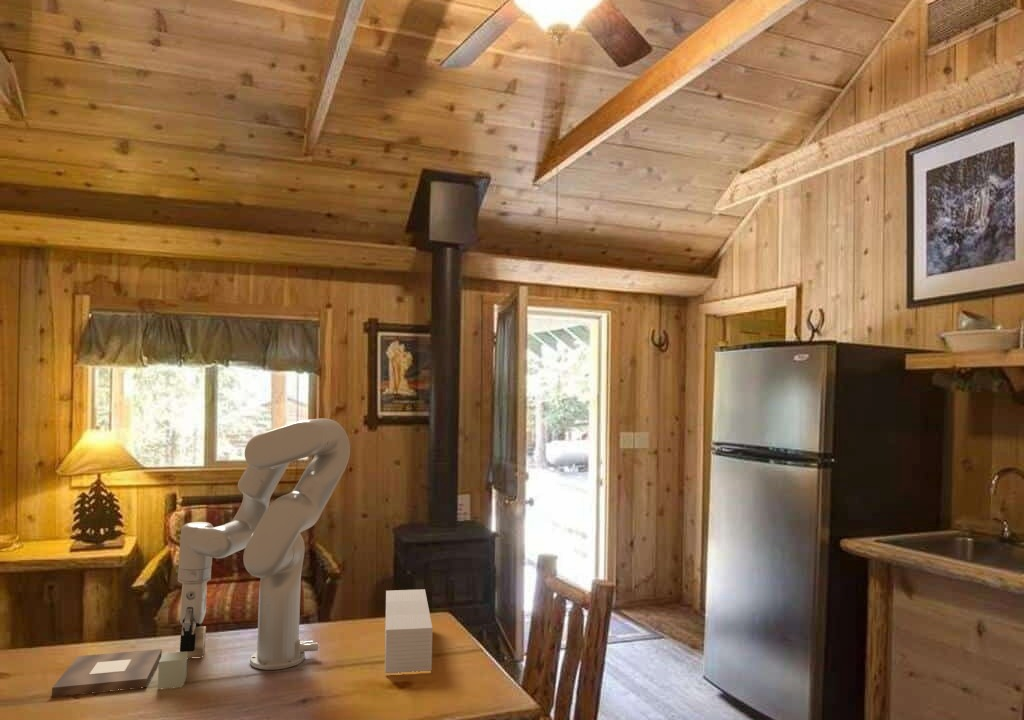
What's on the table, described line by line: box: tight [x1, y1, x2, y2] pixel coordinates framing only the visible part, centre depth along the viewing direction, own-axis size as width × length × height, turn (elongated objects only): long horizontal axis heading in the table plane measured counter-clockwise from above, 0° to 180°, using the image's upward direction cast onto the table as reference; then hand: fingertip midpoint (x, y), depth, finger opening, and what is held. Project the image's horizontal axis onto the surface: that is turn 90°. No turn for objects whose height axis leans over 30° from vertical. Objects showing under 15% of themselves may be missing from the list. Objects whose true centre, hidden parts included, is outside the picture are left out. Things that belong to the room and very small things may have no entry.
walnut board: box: [51, 648, 163, 698], centre depth 159 cm, size 18×18×2 cm
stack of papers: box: [384, 588, 433, 674], centre depth 178 cm, size 32×11×11 cm, turn 10°
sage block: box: [157, 651, 188, 690], centre depth 155 cm, size 5×5×6 cm
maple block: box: [187, 625, 207, 658], centre depth 172 cm, size 5×5×6 cm
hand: (190, 643), depth 172 cm, fingers open, 9 cm apart
